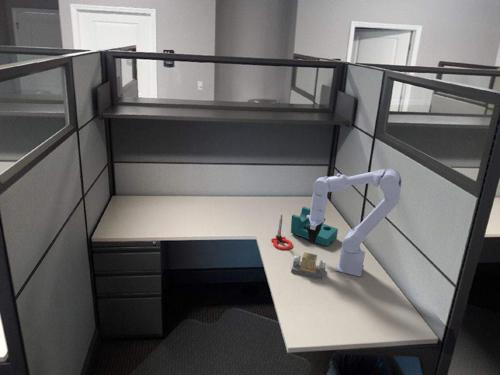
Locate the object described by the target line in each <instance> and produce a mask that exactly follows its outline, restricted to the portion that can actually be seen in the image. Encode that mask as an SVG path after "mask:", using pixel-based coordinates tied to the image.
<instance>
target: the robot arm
mask: <svg viewBox="0 0 500 375" xmlns="http://www.w3.org/2000/svg"><path fill="white" fill-rule="evenodd" d="M402 182H403V180H402V177H401V174H400V172H399V171H398V170H397V169H396V168H387V169H384V168H383V169H377V170H373V171H370V172H369V171H368V172H365V173H361V174H355V175H351V176H347V175H345V174H344V173H343V174H341V173H339V172H338V173H337V174H336V175H332V176H328V175H326V176H323V177H322V176H321V177H318V178H317V179H316V180H315V181H314V182H313V183H312V186H311V188H312V189H311V190H312V196H311V204H310V209H311V210H310V215H307V217H306V218H308V219H309V221H310V224H311V225H307V226H306V229H307V231H308V235H309V239H308V242H309V243H311V244H315V243H316V242H315V241H316V238H317V235H318V234H319V232H320V230H321V226H322V224H325V221H326V218H325V215H326V207H327V204H328V203H327V202H328V201H327V200H328V193H333V192H338V191H344V190H347V189H349V187H350V186H356V185H358V186H359V185H364V184H366V185H367V184H371V185H372V186H374V187H376V188H378V187H379V188H380V190H381V191H382V193H383V197H384V198H383V199H382V200H381V201H380V202H379V203H378V204H377V205H376V206H375V207H374V208H373V209H372V210H371V211H370V213H369V214H368V215H367V216H366V217H364V219H363V220H362V221H361V222H360V223H358V225H356V226H355V227H354V228H351V229H349V230H348V231H347V233H346V235H345V237H344V239H343V240H342V243H341V249H340V254H339V256H340V257H339V260H338V263H337V266H336V269H335V271H336V272H340V273H344V274H347V275H352V276H355V277H356V276H357V277H361V276H362V272H363V269H364V261H365V257H366V251H364V250H362V248H361V246H360V245H361V244H362V243H363V242H364V240H365V239H366V237H367V236H368V235H369V234H370V233H371V232H372V231H373V230H374V229H376V227H377V226H378V225H379V224H380V223H381V222H382V221H383V220H384V219H385V218H386V217H387V216H388V214H390V213H391V212H392V211H393V209H394V208H395V207H397V205H398V204H399V202H400V198H401V190H402V189H401V188H402Z"/></svg>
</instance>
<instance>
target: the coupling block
mask: <svg viewBox="0 0 500 375" xmlns="http://www.w3.org/2000/svg"><path fill="white" fill-rule="evenodd" d="M317 259H318V254H314V253H309V252H306V251H305V252H304V253H303V254H302V256H301V261H302V264H301V268H302V269H306V270H310V271H314V269H315V267H316V265H317V261H318V260H317Z"/></svg>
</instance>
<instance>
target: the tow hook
mask: <svg viewBox="0 0 500 375" xmlns="http://www.w3.org/2000/svg"><path fill="white" fill-rule="evenodd" d="M278 221H279V224H278V230H277V234H275V237H273V238H270V241H271V242H272V244H273V247H275V248H276V249H278V250H281V251H288V250H291V249H292V248H293V246H294V244H293V242H292V241H291V240H289V239H287V238H286V236H282V226H283V214H280V218H279V220H278ZM281 241H282V242H283V243H287V244H288V245H287V246H280V245H278V243H279V242H281Z"/></svg>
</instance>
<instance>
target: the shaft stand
mask: <svg viewBox="0 0 500 375" xmlns="http://www.w3.org/2000/svg"><path fill="white" fill-rule="evenodd" d="M301 259H302V256H301V255H300V254H299V255H294V257H293V263H292V267H291V270H290V272H291V273H293V274H297V275H301V276H305V277H309V278H314V279H317V280H321V281H323V278H324V275H325V272H326V266H327V264H326V262H323V260H320V261H319V264H316V267H315V269H314V271H310V270H306V269H302V268H301V264H302V260H301Z"/></svg>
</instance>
